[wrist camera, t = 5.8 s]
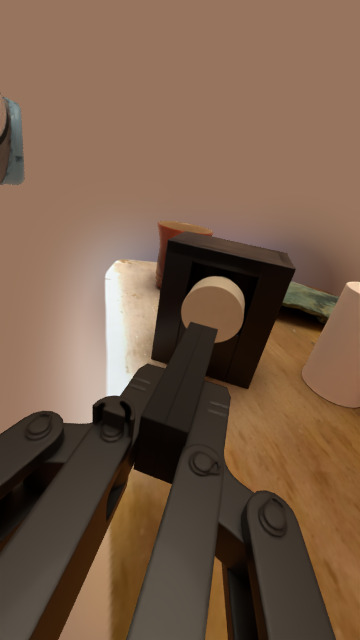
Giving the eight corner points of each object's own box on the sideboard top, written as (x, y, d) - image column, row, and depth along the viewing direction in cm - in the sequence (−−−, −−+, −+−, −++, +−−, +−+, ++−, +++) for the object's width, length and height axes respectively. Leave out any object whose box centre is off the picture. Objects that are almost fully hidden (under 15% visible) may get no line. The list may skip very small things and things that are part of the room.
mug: (208, 298, 42) (223, 236, 37) (158, 298, 39) (168, 230, 34) (182, 273, 52) (192, 221, 47) (141, 271, 48) (146, 215, 43)
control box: (150, 358, 26) (167, 239, 20) (168, 331, 31) (185, 230, 25) (248, 389, 24) (295, 269, 18) (249, 355, 29) (287, 253, 24)
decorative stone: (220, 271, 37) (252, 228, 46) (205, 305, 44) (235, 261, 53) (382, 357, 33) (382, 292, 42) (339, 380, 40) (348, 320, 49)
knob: (176, 333, 20) (186, 278, 18) (193, 303, 25) (203, 259, 23) (233, 350, 19) (252, 295, 17) (238, 315, 25) (252, 270, 22)
